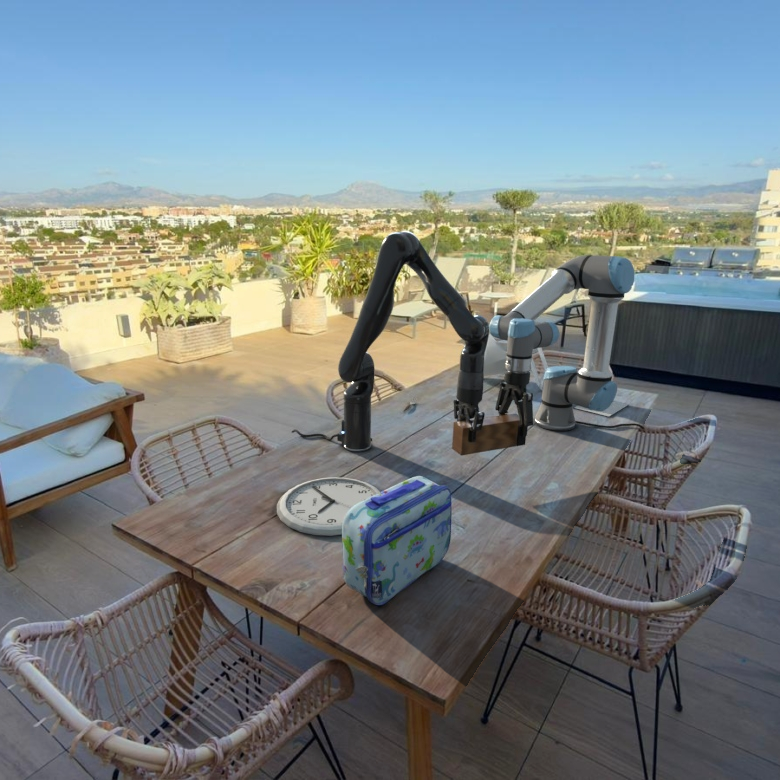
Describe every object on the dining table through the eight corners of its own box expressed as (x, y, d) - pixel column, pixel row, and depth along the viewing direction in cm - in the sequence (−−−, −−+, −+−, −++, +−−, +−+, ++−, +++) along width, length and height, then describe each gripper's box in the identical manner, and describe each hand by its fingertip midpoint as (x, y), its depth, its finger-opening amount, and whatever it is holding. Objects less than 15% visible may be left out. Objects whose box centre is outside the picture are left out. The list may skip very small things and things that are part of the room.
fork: (400, 412, 215) (400, 407, 215) (412, 400, 229) (412, 396, 229) (406, 412, 214) (406, 408, 214) (418, 401, 229) (418, 397, 228)
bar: (513, 438, 169) (515, 413, 167) (523, 445, 164) (526, 419, 162) (451, 448, 160) (453, 422, 158) (461, 455, 156) (463, 428, 153)
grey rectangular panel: (608, 416, 214) (573, 407, 224) (608, 416, 214) (573, 408, 224) (628, 404, 229) (594, 396, 238) (628, 405, 229) (594, 397, 238)
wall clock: (392, 527, 129) (268, 531, 127) (391, 533, 130) (269, 537, 127) (383, 473, 158) (282, 475, 155) (383, 478, 158) (282, 480, 156)
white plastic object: (488, 419, 266) (468, 396, 241) (469, 346, 288) (449, 319, 263) (559, 395, 254) (545, 368, 229) (533, 321, 276) (519, 290, 251)
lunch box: (371, 618, 102) (371, 524, 95) (336, 591, 109) (334, 502, 103) (455, 562, 119) (460, 479, 113) (420, 542, 126) (423, 463, 120)
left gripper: (447, 379, 158) (444, 431, 163) (472, 393, 145) (468, 449, 150) (468, 377, 161) (464, 428, 166) (495, 390, 148) (490, 445, 153)
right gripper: (487, 362, 166) (482, 428, 173) (530, 381, 147) (522, 454, 154) (506, 361, 169) (501, 425, 176) (551, 378, 150) (543, 450, 157)
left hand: (466, 437), depth 158 cm, fingers closed on bar, 5 cm apart
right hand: (511, 439), depth 165 cm, fingers open, 9 cm apart
